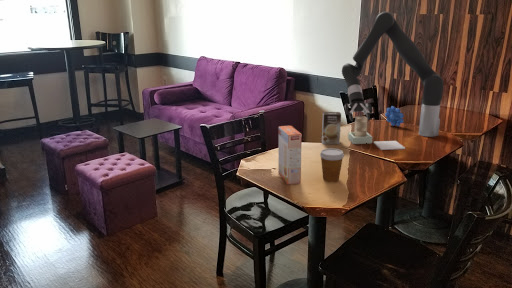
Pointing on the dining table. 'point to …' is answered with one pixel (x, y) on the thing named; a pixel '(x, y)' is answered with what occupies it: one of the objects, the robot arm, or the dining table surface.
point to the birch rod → (360, 126)
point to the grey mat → (388, 145)
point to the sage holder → (359, 138)
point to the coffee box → (331, 127)
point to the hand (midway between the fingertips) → (360, 120)
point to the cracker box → (290, 154)
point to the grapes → (394, 116)
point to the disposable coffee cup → (331, 164)
